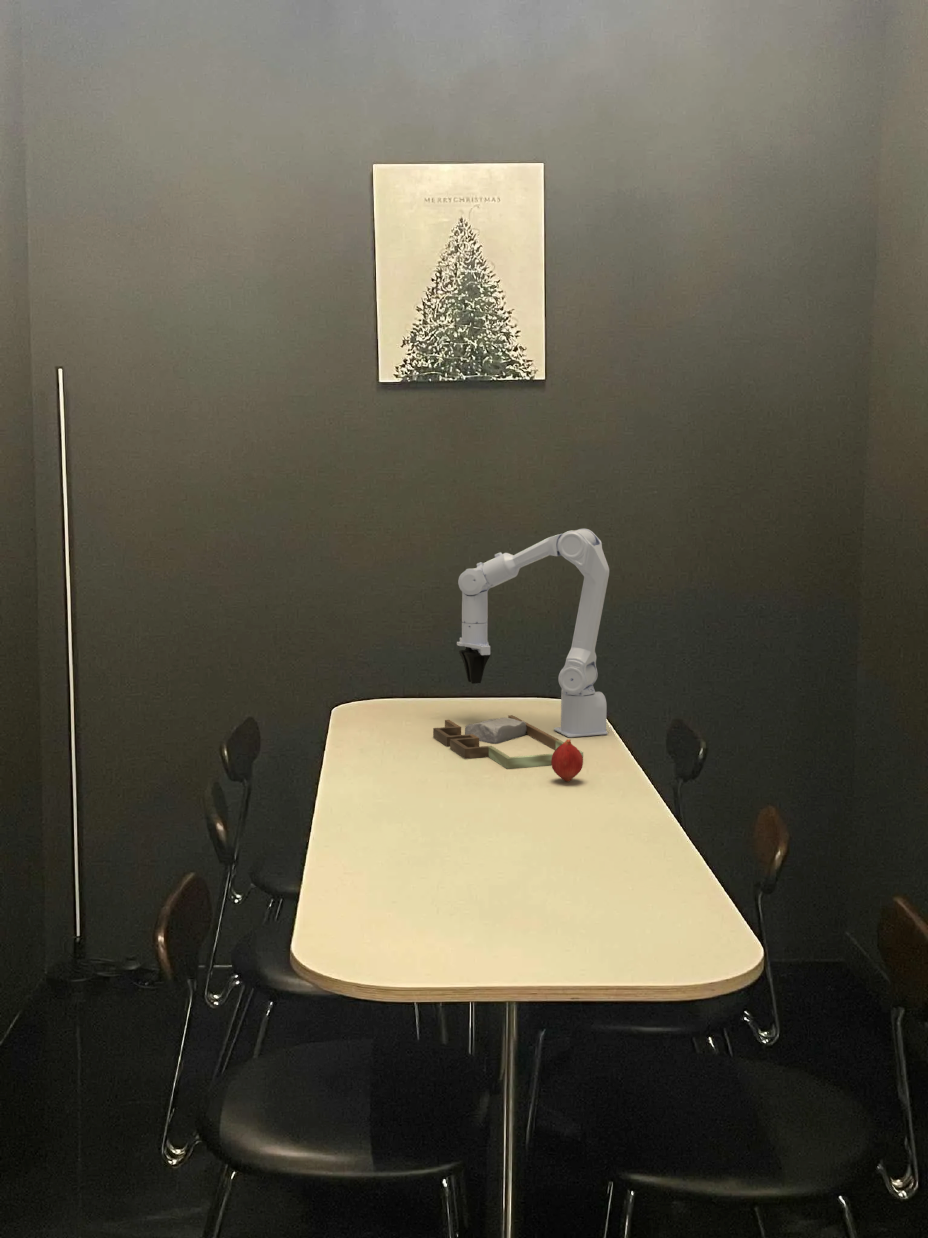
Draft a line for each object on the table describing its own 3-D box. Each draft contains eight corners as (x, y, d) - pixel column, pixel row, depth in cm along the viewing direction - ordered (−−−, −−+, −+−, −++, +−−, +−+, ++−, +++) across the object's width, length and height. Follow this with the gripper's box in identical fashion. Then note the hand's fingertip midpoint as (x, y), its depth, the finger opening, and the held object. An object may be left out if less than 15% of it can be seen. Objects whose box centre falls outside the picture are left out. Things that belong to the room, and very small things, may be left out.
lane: (512, 724, 270) (512, 715, 270) (583, 762, 236) (583, 752, 236) (423, 730, 263) (423, 721, 263) (482, 771, 229) (482, 760, 229)
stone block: (460, 747, 256) (498, 744, 250) (457, 725, 257) (495, 722, 250) (494, 739, 266) (531, 737, 260) (491, 718, 266) (528, 715, 260)
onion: (545, 783, 220) (546, 740, 219) (558, 776, 226) (559, 734, 224) (575, 787, 218) (576, 743, 217) (587, 779, 223) (588, 737, 222)
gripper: (447, 618, 273) (446, 677, 275) (469, 627, 259) (468, 689, 261) (476, 617, 275) (475, 676, 277) (499, 625, 262) (498, 687, 264)
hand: (474, 682), depth 269 cm, fingers closed
